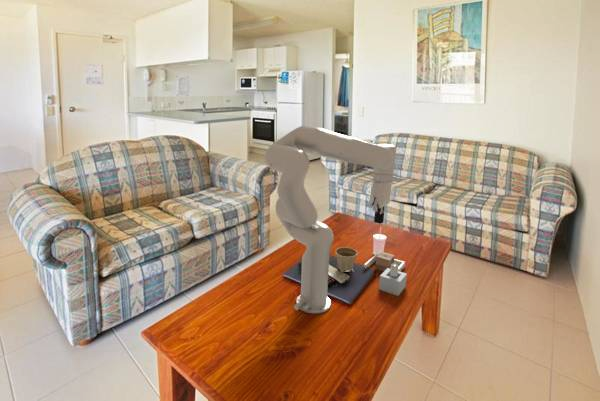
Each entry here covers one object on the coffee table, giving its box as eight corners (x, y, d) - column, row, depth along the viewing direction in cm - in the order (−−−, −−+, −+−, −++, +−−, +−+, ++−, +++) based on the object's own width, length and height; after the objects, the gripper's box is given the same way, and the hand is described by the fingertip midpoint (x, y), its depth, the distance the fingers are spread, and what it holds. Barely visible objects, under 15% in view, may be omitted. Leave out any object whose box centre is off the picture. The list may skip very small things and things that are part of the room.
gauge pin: (394, 291, 142) (397, 268, 139) (386, 288, 144) (389, 265, 141) (397, 287, 145) (399, 265, 142) (389, 285, 146) (392, 263, 143)
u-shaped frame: (393, 278, 152) (394, 273, 151) (363, 269, 159) (364, 264, 158) (404, 266, 162) (405, 261, 161) (376, 258, 169) (376, 253, 169)
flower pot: (357, 275, 153) (358, 257, 151) (334, 274, 153) (336, 256, 151) (354, 265, 162) (356, 247, 160) (333, 264, 162) (334, 246, 160)
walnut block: (388, 272, 156) (389, 260, 155) (375, 268, 160) (376, 256, 158) (393, 267, 161) (394, 255, 159) (380, 263, 164) (381, 251, 163)
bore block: (398, 296, 139) (399, 282, 137) (378, 289, 143) (379, 275, 142) (405, 287, 145) (407, 273, 144) (386, 280, 150) (387, 267, 148)
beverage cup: (375, 249, 178) (378, 223, 174) (386, 253, 174) (389, 226, 170) (369, 253, 174) (371, 226, 169) (380, 257, 170) (383, 230, 166)
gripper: (381, 172, 146) (377, 215, 151) (365, 179, 134) (361, 225, 139) (399, 175, 142) (394, 219, 147) (384, 182, 130) (380, 230, 135)
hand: (378, 222), depth 143 cm, fingers closed
